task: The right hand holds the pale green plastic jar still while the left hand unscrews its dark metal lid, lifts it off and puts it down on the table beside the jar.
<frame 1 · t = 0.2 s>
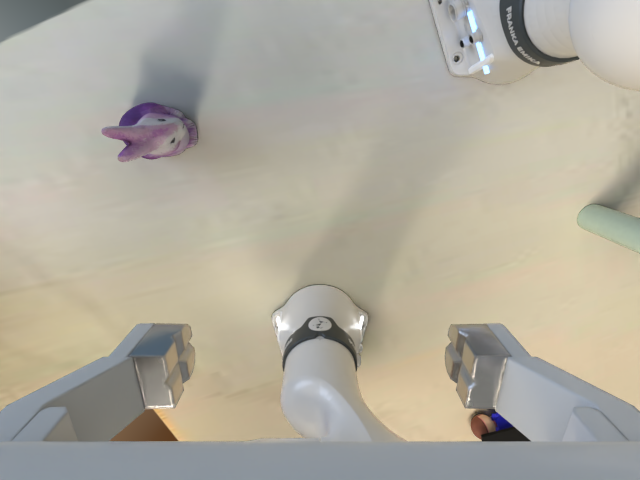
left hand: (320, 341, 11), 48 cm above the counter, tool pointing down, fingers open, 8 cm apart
figurine: (170, 129, 54), on the counter
jar: (590, 216, 59), on the counter
figurine character: (501, 411, 75), on the counter
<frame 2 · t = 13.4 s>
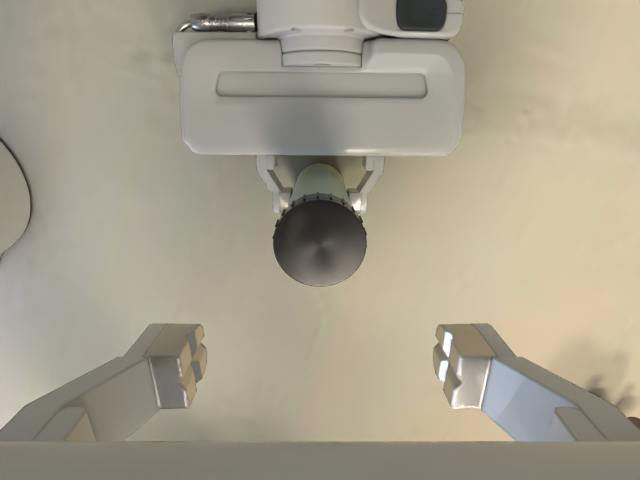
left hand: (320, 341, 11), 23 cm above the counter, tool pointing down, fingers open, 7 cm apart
right hand: (320, 211, 28), fingers closed on jar, 4 cm apart
jar: (319, 187, 32), on the counter, touching right hand
lid: (319, 243, 19), point 15 cm above the counter, screwed on, not yet turned
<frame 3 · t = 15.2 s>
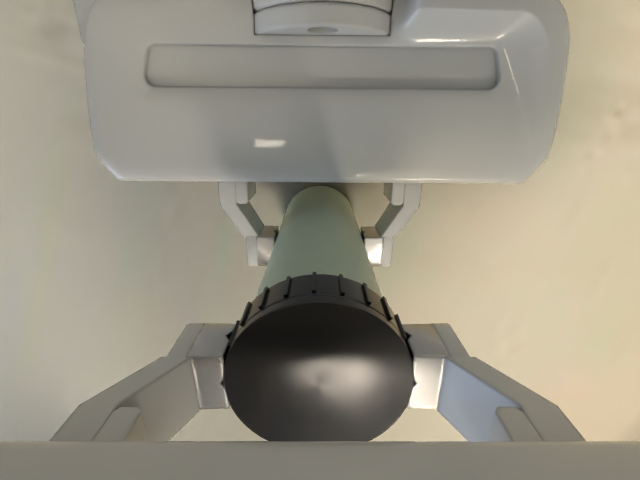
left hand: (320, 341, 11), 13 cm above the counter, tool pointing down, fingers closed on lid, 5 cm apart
right hand: (320, 262, 18), fingers closed on jar, 4 cm apart
jar: (319, 219, 23), on the counter, touching right hand
lid: (318, 375, 9), point 15 cm above the counter, screwed on, not yet turned, touching left hand
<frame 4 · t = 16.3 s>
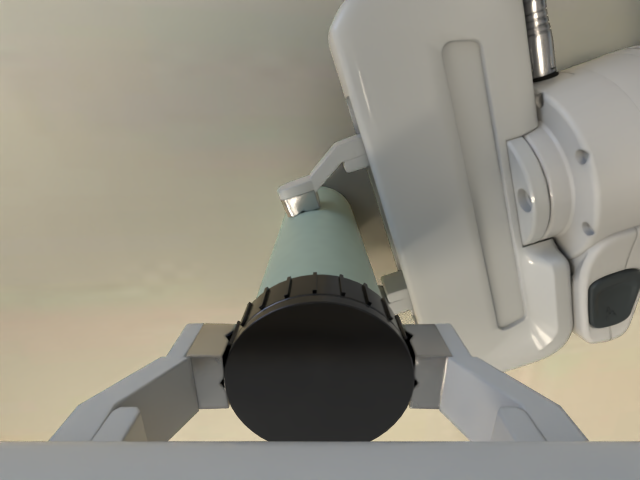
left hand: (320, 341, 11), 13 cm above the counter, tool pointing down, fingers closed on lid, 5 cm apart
right hand: (303, 252, 18), fingers closed on jar, 4 cm apart
jar: (319, 219, 23), on the counter, touching right hand
lid: (319, 375, 9), point 15 cm above the counter, turned 70° so far, risen 0.2 cm, still on its thread, touching left hand
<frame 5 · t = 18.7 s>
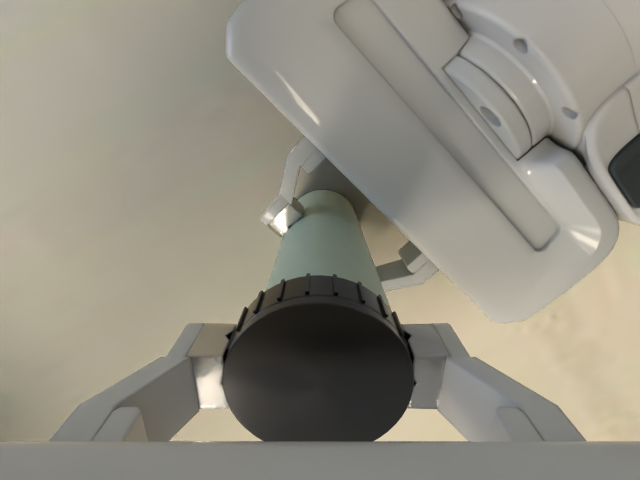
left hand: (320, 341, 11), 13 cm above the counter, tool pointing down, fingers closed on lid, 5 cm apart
jar: (322, 222, 23), on the counter, touching left hand, right hand
lid: (318, 377, 9), point 15 cm above the counter, off its thread, touching left hand
when the left hand's fingers open (2 cm above the counter, at t = 23.5 s): lid drops 2 cm, point 1 cm above the counter.
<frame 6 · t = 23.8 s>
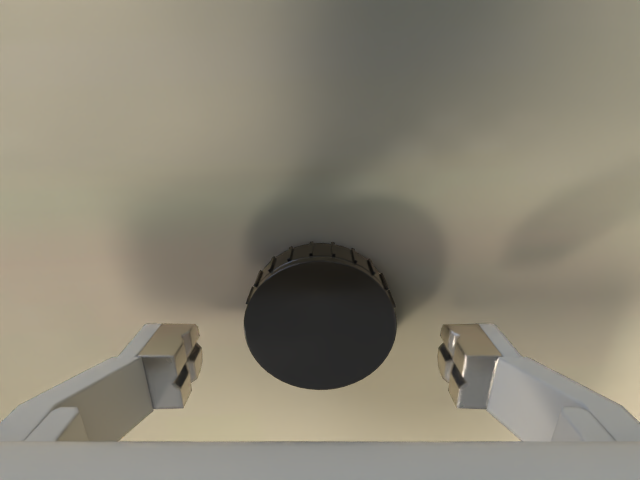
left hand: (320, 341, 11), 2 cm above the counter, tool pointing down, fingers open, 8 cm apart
lid: (320, 324, 11), point 1 cm above the counter, off its thread
when the right hand's fingers open (5 cm above the counter, at t = 24.6 s): jar stays where it is, on the counter.
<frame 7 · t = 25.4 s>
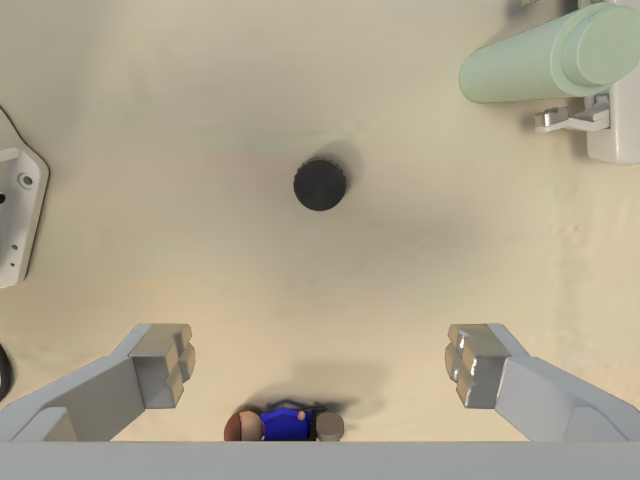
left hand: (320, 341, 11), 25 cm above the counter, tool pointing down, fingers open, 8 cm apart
jar: (484, 75, 31), on the counter
figurine character: (286, 414, 46), on the counter
lid: (319, 185, 33), point 1 cm above the counter, off its thread
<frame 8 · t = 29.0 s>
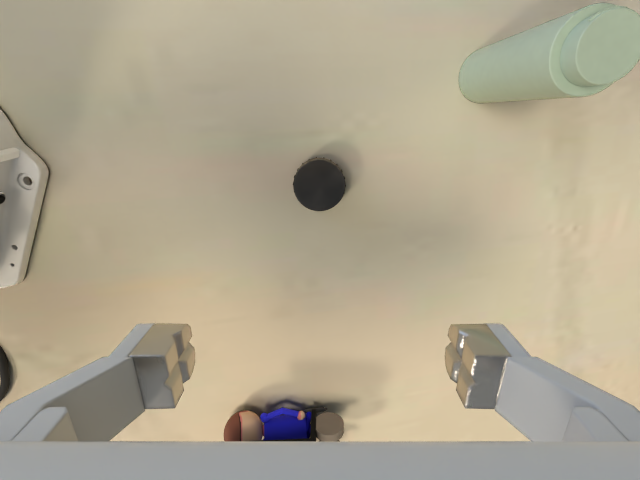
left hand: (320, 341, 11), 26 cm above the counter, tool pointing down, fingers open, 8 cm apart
jar: (483, 76, 31), on the counter
figurine character: (285, 414, 46), on the counter
lid: (319, 185, 33), point 1 cm above the counter, off its thread
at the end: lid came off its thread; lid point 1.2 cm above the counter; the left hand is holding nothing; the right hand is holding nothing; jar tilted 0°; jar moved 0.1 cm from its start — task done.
